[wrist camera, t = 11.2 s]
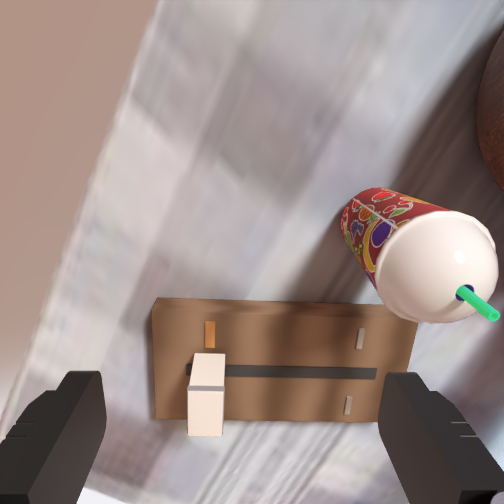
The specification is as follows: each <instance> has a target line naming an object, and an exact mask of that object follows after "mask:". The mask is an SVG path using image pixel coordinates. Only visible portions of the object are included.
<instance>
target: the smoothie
mask: <svg viewBox="0 0 504 504" xmlns="http://www.w3.org/2000/svg"><path fill="white" fill-rule="evenodd" d="M341 231H342V234H343V238H344V239H345V241H346V242H347V244H348V246H349V247H350V249H351V250H352V252H353V254H354V255H355V257H356V258H357V260H358V262H359V263H360V265H361V266H362V268H363V270H364V271H365V273H366V274H367V276H368V278H369V279H370V281H371V282H372V284H373V286H374V287H375V289H376V290H377V292H378V295H379V297H380V298H381V300H382V301H383V303H384V304H385V306H386V307H387V309H389V310H390V311H392V312H393V313H394V314H396V315H397V316H399V317H400V318H403V319H406V320H410V321H413V322H426V323H430V324H437V323H452V322H455V321H459V320H463V319H465V318H467V317H469V316H470V315H472V314H474V313H476V312H477V311H478V312H480V313H481V314H482V315H483V316H485V317H486V318H487V319H488V320H490V321H492V322H493V321H497V320H498V319H499V318H500V313H499V312H498V311H497V310H495V309H494V308H493V307H492V306H490V305H489V304H488V303H487V302H488V300H489V298H490V297H491V295H492V293H493V292H494V290H495V288H496V284H497V280H498V276H499V269H498V258H497V255H496V251H495V243H494V241H493V239H492V237H491V235H490V233H489V231H488V229H487V228H486V227H485V226H484V225H483V224H481V223H480V222H479V221H478V220H477V219H476V218H474V217H472V216H469V215H466V214H463V213H461V212H458V211H452V210H449V209H446V208H443V207H440V206H437V205H434V204H431V203H428V202H425V201H422V200H419V199H416V198H413V197H410V196H407V195H404V194H401V193H398V192H395V191H392V190H389V189H386V188H371V189H368V190H365V191H362V192H361V193H359V194H358V195H356V196H355V197H354V198H352V199H351V201H350V202H349V203H348V204H347V206H346V207H345V209H344V212H343V214H342V217H341Z"/></svg>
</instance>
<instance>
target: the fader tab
mask: <svg viewBox="0 0 504 504" xmlns="http://www.w3.org/2000/svg"><path fill="white" fill-rule="evenodd" d="M224 374H225V354H209V353H195V355H194V360H193V366H192V372H191V378H190V384H189V385H188V388H187V434H188V436H222V434H223V422H224V396H225V386H224Z"/></svg>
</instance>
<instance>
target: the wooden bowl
mask: <svg viewBox="0 0 504 504" xmlns="http://www.w3.org/2000/svg"><path fill="white" fill-rule="evenodd" d="M476 130H477V138H478V142H479V147H480V150H481V153H482V156H483V159H484V161H485V163H486V165H487V167H488V169H489V171H490V173H491V175H492V177H493V178H494V180H495V181H496V183H497V184H498V185H499V186H500V187H501V189H502V190H503V191H504V30H503V32H502V33H501V35H500V36H499V38H498V40H497V42H496V44H495V46H494V48H493V50H492V52H491V54H490V57H489V59H488V61H487V64H486V67H485V70H484V72H483V75H482V79H481V83H480V87H479V92H478V98H477V106H476Z"/></svg>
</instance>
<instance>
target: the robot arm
mask: <svg viewBox="0 0 504 504" xmlns="http://www.w3.org/2000/svg"><path fill="white" fill-rule="evenodd" d="M106 419H107V416H106V407H105V400H104V392H103V385H102V377H101V374H100V372H99V371H69V372H68V373H67V374H66V376H65V377H64V379H63V380H62V382H61V383H60V385H59V386H58V388H57V389H56V390H46V391H45V392H44V393H43V394H41V395H40V396H39V397H37V398H36V399H35V400H34V401H32V402H31V403H30V404H29V405H28V406H27V407H26V409H25V410H24V411H23V413H22V414H21V416H20V417H19V418H18V420H17V421H16V425H13V427H12V428H11V430H10V431H9V432H8V434H7V435H6V439H5V440H3V441H2V442H1V444H0V504H76V503H77V501H78V498H79V496H80V493H81V491H82V488H83V486H84V484H85V481H86V479H87V476H88V474H89V472H90V469H91V467H92V464H93V462H94V459H95V457H96V455H97V452H98V450H99V447H100V445H101V442H102V440H103V437H104V433H105V429H106ZM378 428H379V433H380V436H381V439H382V441H383V443H384V446H385V448H386V450H387V453H388V455H389V457H390V459H391V462H392V464H393V466H394V468H395V471H396V473H397V475H398V478H399V480H400V482H401V484H402V487H403V489H404V491H405V493H406V496H407V498H408V500H409V503H410V504H504V471H503V470H502V469H501V467H500V466H499V465H498V463H497V462H496V461H495V459H494V458H493V457H492V455H491V454H490V453H489V451H488V450H487V448H486V447H485V446H484V444H483V443H482V442H481V440H480V439H479V438H477V437H476V434H475V432H474V431H473V430H472V428H471V427H470V425H469V424H466V420H465V419H464V417H463V416H462V415H461V413H460V412H459V411H458V409H457V408H456V407H455V405H454V404H453V403H451V402H450V401H449V400H447V399H446V398H445V397H444V396H442V395H441V394H440V393H439V392H437V391H429V389H428V388H427V386H426V385H425V384H424V382H423V381H422V379H421V378H420V376H419V375H418V374H417V373H415V372H388V373H387V374H386V376H385V380H384V385H383V390H382V396H381V401H380V406H379V412H378Z"/></svg>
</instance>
